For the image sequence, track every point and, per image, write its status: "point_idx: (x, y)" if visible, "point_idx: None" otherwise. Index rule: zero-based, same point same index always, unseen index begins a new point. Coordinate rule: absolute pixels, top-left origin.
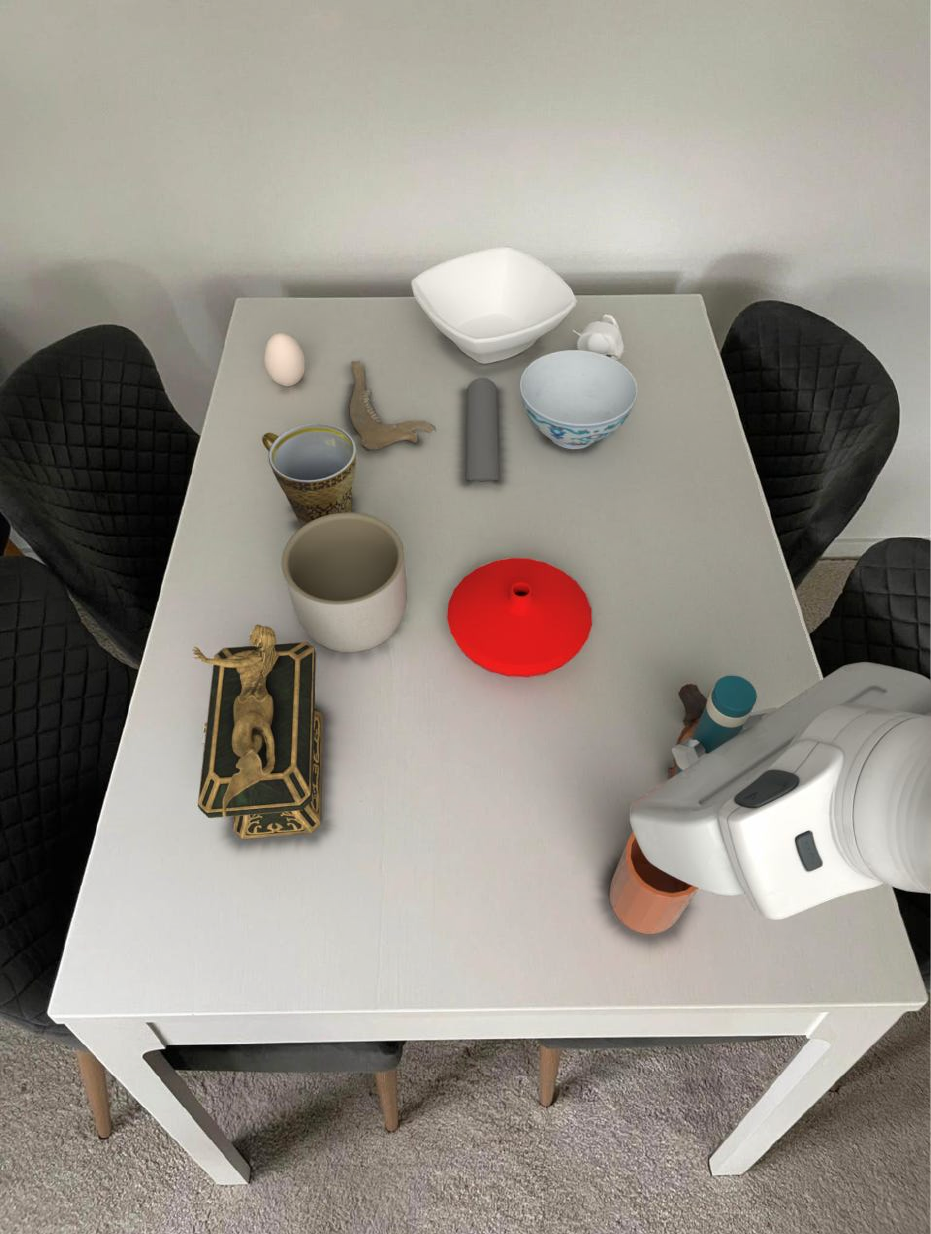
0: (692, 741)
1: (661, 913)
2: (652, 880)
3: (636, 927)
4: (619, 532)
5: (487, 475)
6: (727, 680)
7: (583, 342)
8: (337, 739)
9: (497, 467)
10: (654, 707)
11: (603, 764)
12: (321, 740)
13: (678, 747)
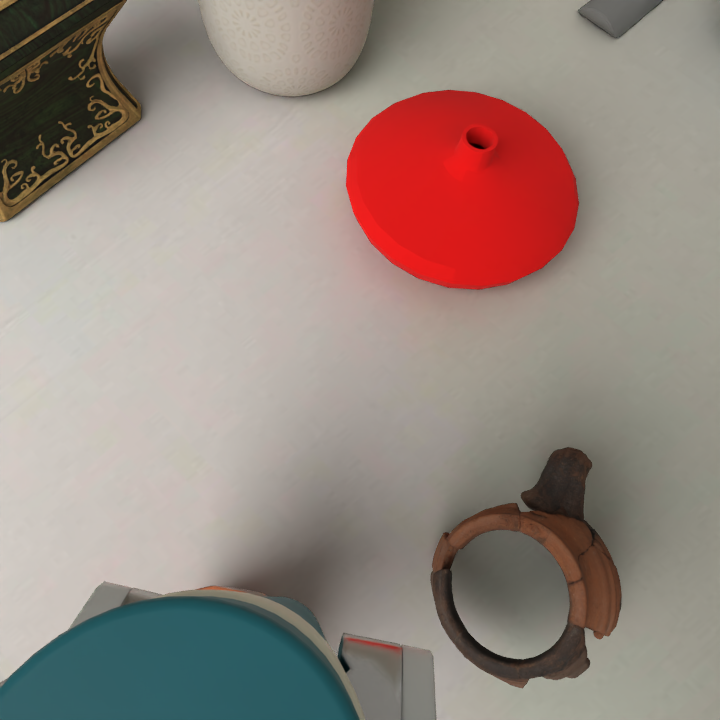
0: None
1: None
2: None
3: None
4: (706, 204)
5: (605, 16)
6: (229, 670)
7: None
8: (128, 155)
9: (629, 22)
10: (518, 440)
11: (375, 446)
12: (106, 140)
13: (92, 606)
